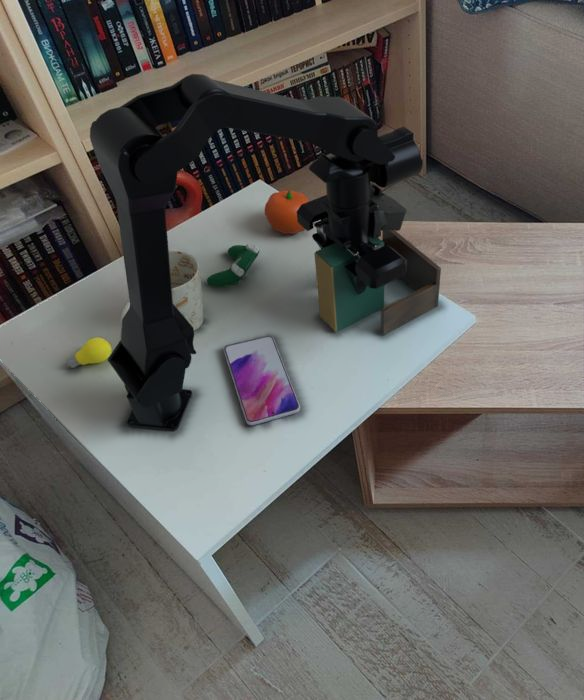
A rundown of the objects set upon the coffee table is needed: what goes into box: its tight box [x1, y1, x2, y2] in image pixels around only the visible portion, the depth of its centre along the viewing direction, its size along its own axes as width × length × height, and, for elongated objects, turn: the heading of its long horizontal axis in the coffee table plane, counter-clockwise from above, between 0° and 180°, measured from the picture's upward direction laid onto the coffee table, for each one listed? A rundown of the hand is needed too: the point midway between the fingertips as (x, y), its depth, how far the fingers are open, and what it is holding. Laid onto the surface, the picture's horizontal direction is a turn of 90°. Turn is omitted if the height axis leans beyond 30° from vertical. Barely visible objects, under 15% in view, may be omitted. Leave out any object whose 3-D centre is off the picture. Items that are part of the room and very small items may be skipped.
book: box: [313, 237, 385, 333], centre depth 100 cm, size 9×4×13 cm, turn 132°
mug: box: [120, 250, 205, 332], centre depth 95 cm, size 8×13×10 cm, turn 146°
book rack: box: [380, 230, 442, 336], centre depth 105 cm, size 11×14×8 cm
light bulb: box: [66, 336, 113, 369], centre depth 92 cm, size 3×6×4 cm
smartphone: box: [223, 334, 301, 426], centre depth 93 cm, size 7×1×15 cm
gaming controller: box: [206, 242, 261, 288], centre depth 107 cm, size 9×4×6 cm
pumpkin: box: [264, 189, 310, 235], centre depth 114 cm, size 8×8×7 cm
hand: (352, 284), depth 100 cm, fingers closed on book, 4 cm apart
